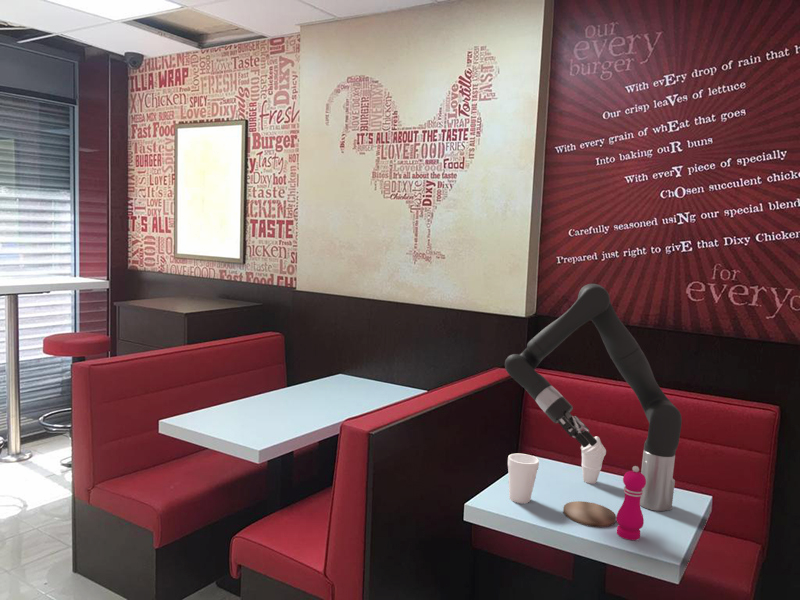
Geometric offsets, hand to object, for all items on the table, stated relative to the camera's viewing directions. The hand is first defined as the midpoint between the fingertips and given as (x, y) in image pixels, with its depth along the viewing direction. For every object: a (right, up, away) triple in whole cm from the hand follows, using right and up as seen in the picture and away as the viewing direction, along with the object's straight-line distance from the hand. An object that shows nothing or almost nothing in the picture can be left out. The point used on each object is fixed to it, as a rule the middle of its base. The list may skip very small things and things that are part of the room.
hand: (591, 444), depth 200 cm
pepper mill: (+7, -23, -12) cm, 27 cm away
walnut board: (-1, -21, -1) cm, 21 cm away
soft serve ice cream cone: (+7, -19, +28) cm, 34 cm away
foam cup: (-20, -19, +8) cm, 28 cm away
